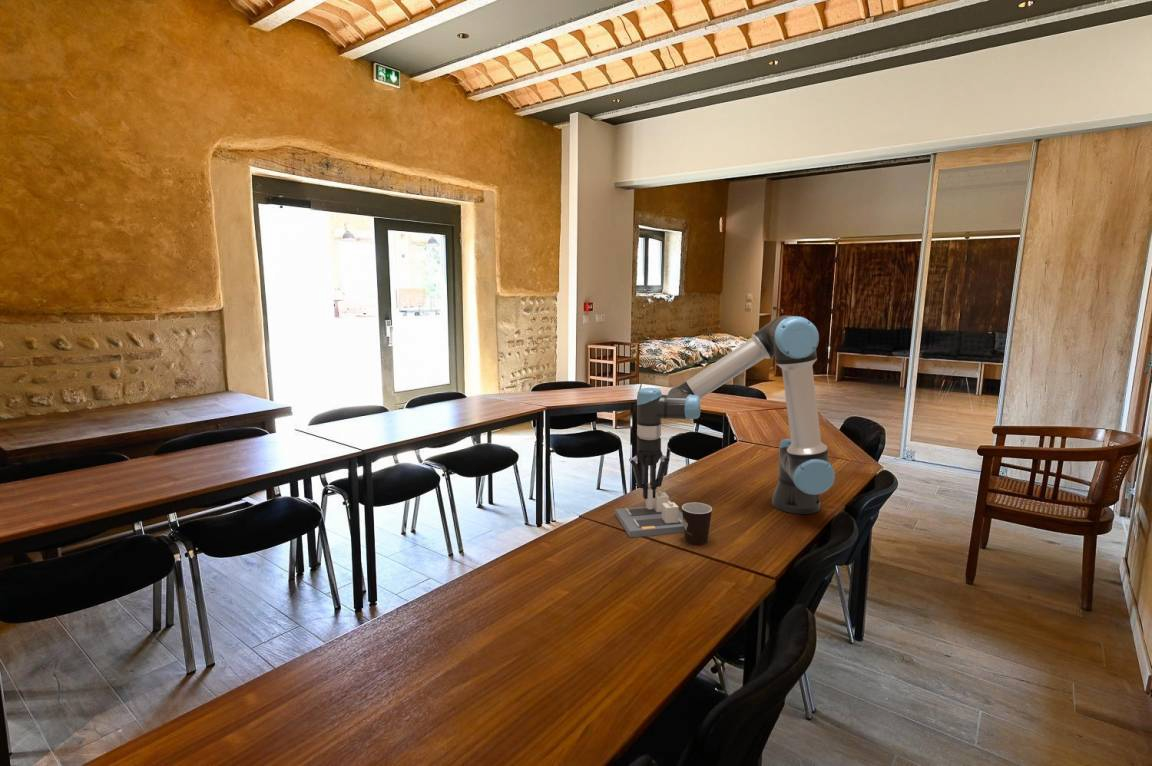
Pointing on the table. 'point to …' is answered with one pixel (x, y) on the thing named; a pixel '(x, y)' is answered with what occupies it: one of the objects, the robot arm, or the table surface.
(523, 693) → the table surface
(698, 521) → the coffee mug
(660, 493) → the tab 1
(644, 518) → the switch board
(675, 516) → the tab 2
